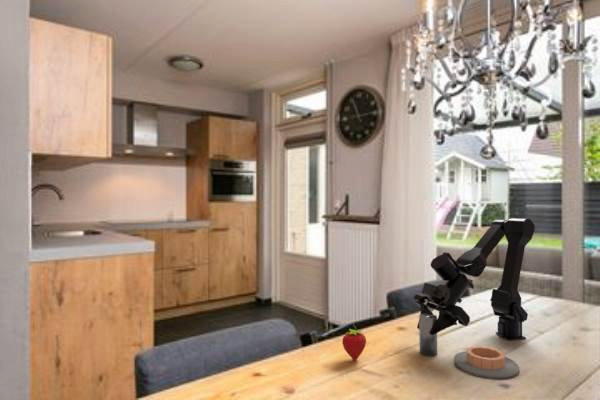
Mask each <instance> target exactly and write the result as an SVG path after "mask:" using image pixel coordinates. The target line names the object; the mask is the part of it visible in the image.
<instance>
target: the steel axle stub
mask: <svg viewBox="0 0 600 400" xmlns="http://www.w3.org/2000/svg"><path fill="white" fill-rule="evenodd" d="M433 314H434V313H433ZM433 314H419V315H418V317H419V318H418V322H419V329H418V330H419V333H418V334H419V335H418V336H419V341H418V342H419V353H420V355H422V356H425V357H435V356H436V357H437V356H438V333H436V334H434V335H431V334H430V331H431V329H432V327H433V325H434V324H435V322H436V320H437V319H438V316H437V315H436V314H434V315H433Z"/></svg>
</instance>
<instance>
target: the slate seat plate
mask: <svg viewBox="0 0 600 400" xmlns="http://www.w3.org/2000/svg"><path fill="white" fill-rule="evenodd" d="M453 363H454V365H455V366H456V367H457V368H458V369H460V370H461V371H463V372H465V373H468V374H469V375H472V376H477V377H482V378H484V379H485V378H486V379H492V380H493V379H494V380H495V379H496V380H505V379H512V378H514V377H517V376H518V375H519V374H520V366H519V364H518V363H517V362H516V361H515V360H513V359H512V358H509V357H507V356H506V355H505V353H504V352H502V351H501V350H499V349H496V348H493V347H489V346H482V345H481V346H479V345H477V346H475V345H474V346H470V347H468V348H466V350H465V351H460V352H458V353H456V354H454V356H453Z"/></svg>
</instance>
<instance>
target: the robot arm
mask: <svg viewBox="0 0 600 400" xmlns="http://www.w3.org/2000/svg"><path fill="white" fill-rule="evenodd" d="M535 230H536V225H535V224H534V223H533V221H532V220H531V218H516V217H515V218H514V217H510V218H509V219H508V220H507V219H506V220H505V219H495V220H493V221H492V222H491V225H490V226H489V228H488V229H487V230H486V231H485V233H484V234H483V235H482V236H481V238H479V240H478V241H477V242H476V243H475V245H474V246H473V247H472V248H471V249H470V250H469V249H468V250H467V251H465V252H463V253H462V254H461V255H460V256H459V257H458V258H457V259H456V260H455V259H454V258H453V256H452V255H451V254H450V252H447V251H444V252H443V253H442V254H440V255H438V256H436V257H435V258H432V260H431V262H430V267H431V268H432V269H433V271H434V272H435V273H436V274H437V275H438V277H439V278H440V279H441V280H442V281H446V282H445V283H444V284H441V283H440V284H438V285H435V284H432V283H427V282H424V284H423V285H422V286H423V287H422V288H421V289H422V290H421V293H422V294H421V293H416V294H415V295H414V296H413V298H412V300H413V302H415V304H417V305H418V307H419V308H420V314H433V315H435V314H434V313H433V311H434V310H435V311H438V316H437V320H436V322H435V324H434V325H433V327H432V329H431V331H430V334H431V335H434V334H436V333H437V334H438V333H439V332H441V331H443V330H446V329H448V328H450V327H452V326H457V325H458V324H459V325H461V326H464V327H468V325H469V323H470V322H471V317H470V315H469V314H468V313H467V312H466V311H465V309H464V308H463V307H462V306H460V305H457V303H458V304H461V303H462V302H463V300H462V299H461V297H462V296H463V294H464V293H465V291H466V290H467V289H472V290H473V289H474V288H475V285H474V283H473V279H470V278H468V277H475V278H477V277H478V278H479V277H481V275H482V274H483V272H484V270H485V269H486V266H487V259H488V257H489V256H490V255H491V253H493V251H494V249H495V248H496V247H497V246H498V244H499V243H500V242H501V240H502V239H503V238H504V237H505V239H506V241H507V249H506V253H505V259H504V264H503V269H502V276H501V280H500V285H499V286H498V287H497V289H496V288H493V289H492V291H491V297H490V300H489V301H490V306H491V308H492V311H493V314H494V316H496V317H498V321H497V331H495V335H498V336H499V337H501V338H503V339H505V340H506V341H507V340H508V341H513V340H514V341H515V340H526V339H527V338H526V336H524V335H523V323H524V322H525V321H527V320H528V316H529V314H528V312H527V311H526V310H525V309H524V308H523V306H522V296H521V295H520V292H519V289H518V288H519V284H520V277H521V271H522V265H523V260H524V259H523V258H524V256H525V255H524V254H525V248H526V246H527V245H528V244H529V242H530V241H531V240H532V239H533V236H534V233H535ZM467 276H468V277H467ZM427 295H428V296H429V297H428V296H427ZM420 314H419V315H420ZM457 322H458V323H457ZM416 328H417V329H418V330H419V321H418V323H417V327H416Z"/></svg>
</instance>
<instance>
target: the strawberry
mask: <svg viewBox="0 0 600 400" xmlns="http://www.w3.org/2000/svg"><path fill="white" fill-rule="evenodd" d="M353 327H354V328H355V329H351V328H349V329H348V331H347V332H345V335H343V337H342V347H343V349H344V351H346V353H347V354H348V356H349V357H350V358H351V360H353V361H357V360H358V359H359V358H360V356H361V354H362V352H364V349H365V348H366V344H367V338H366V336H365V334H364V333H363V330H362V329H361V330H359V329H358V330H357V327H356V326H355V325H353Z"/></svg>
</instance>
